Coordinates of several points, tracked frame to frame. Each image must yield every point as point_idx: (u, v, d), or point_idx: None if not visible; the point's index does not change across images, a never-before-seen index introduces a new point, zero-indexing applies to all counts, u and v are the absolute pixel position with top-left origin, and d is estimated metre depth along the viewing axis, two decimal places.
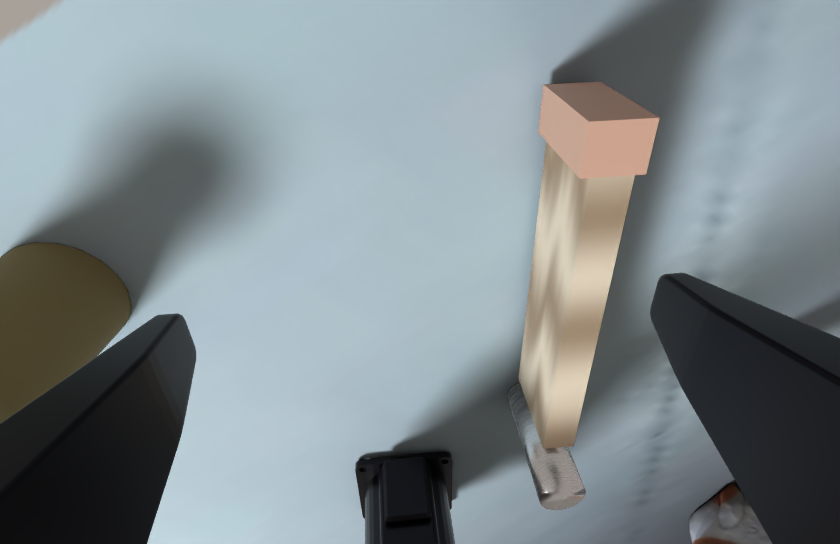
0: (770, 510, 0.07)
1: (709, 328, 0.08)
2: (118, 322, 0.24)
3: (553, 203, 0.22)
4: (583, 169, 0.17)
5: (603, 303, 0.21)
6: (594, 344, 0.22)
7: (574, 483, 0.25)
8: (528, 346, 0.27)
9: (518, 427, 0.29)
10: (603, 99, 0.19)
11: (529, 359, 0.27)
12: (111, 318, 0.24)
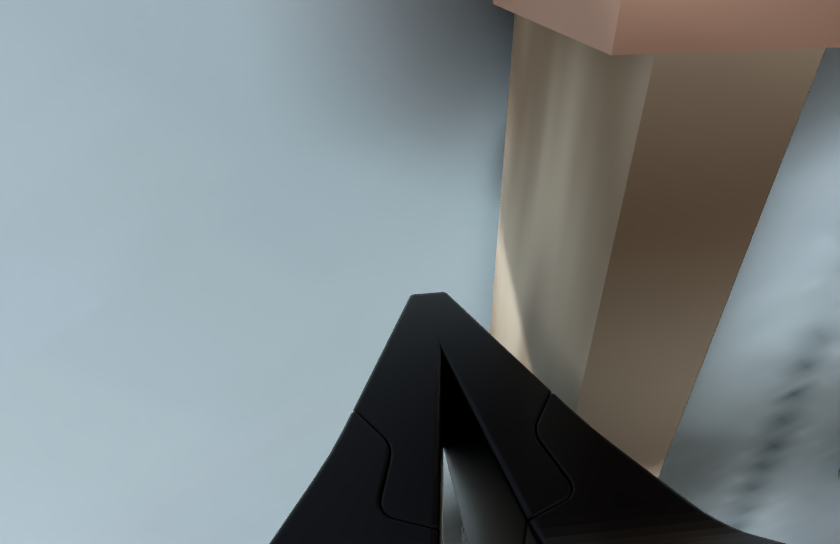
0: (471, 543, 0.07)
1: None
2: None
3: (528, 182, 0.09)
4: (627, 14, 0.04)
5: (661, 452, 0.08)
6: None
7: None
8: None
9: None
10: None
11: None
12: None
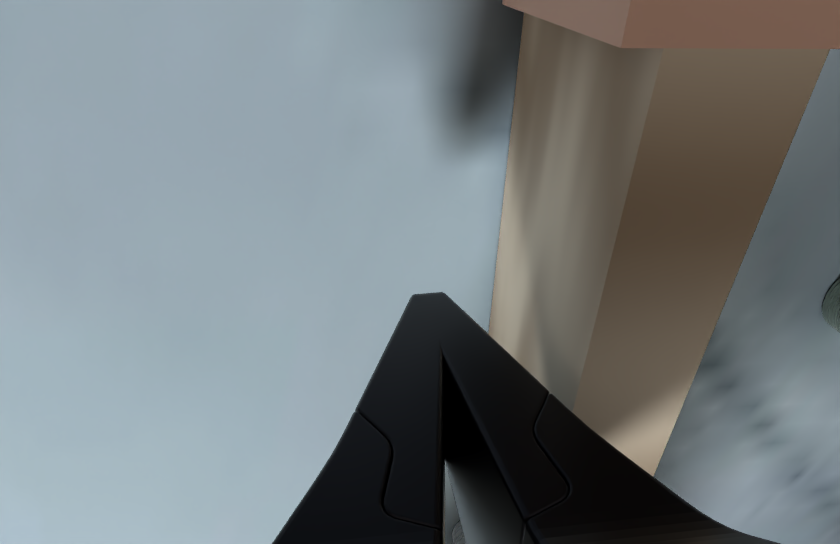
0: (469, 543, 0.07)
1: None
2: None
3: (532, 181, 0.09)
4: (638, 8, 0.04)
5: (657, 451, 0.08)
6: None
7: None
8: None
9: None
10: None
11: None
12: None
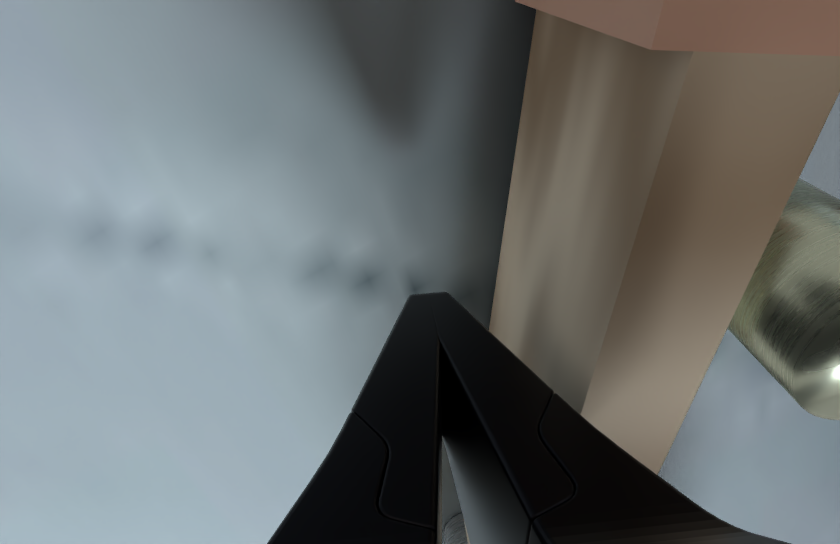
0: (473, 543, 0.07)
1: None
2: None
3: (541, 180, 0.09)
4: (670, 10, 0.04)
5: (661, 453, 0.08)
6: None
7: None
8: None
9: None
10: None
11: None
12: None
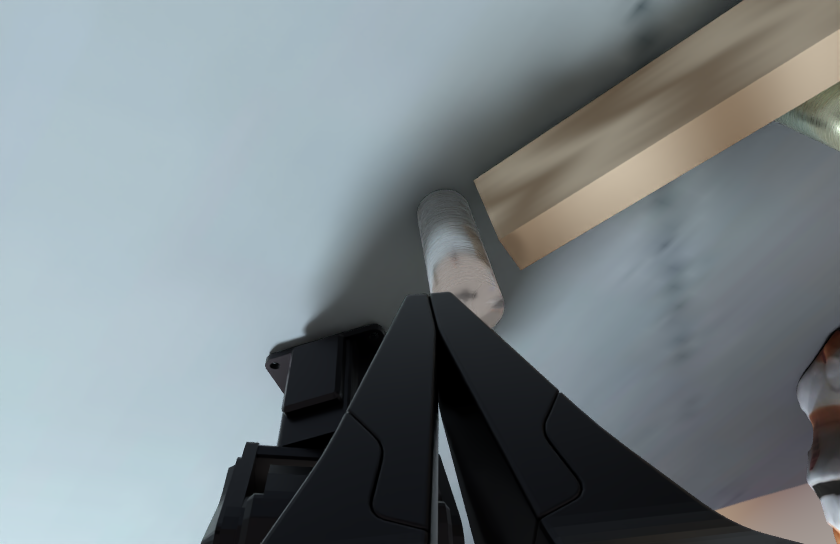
0: (478, 542, 0.07)
1: (440, 352, 0.08)
2: None
3: None
4: None
5: (781, 112, 0.15)
6: (710, 155, 0.16)
7: (474, 282, 0.16)
8: (552, 140, 0.20)
9: None
10: None
11: (542, 153, 0.19)
12: None
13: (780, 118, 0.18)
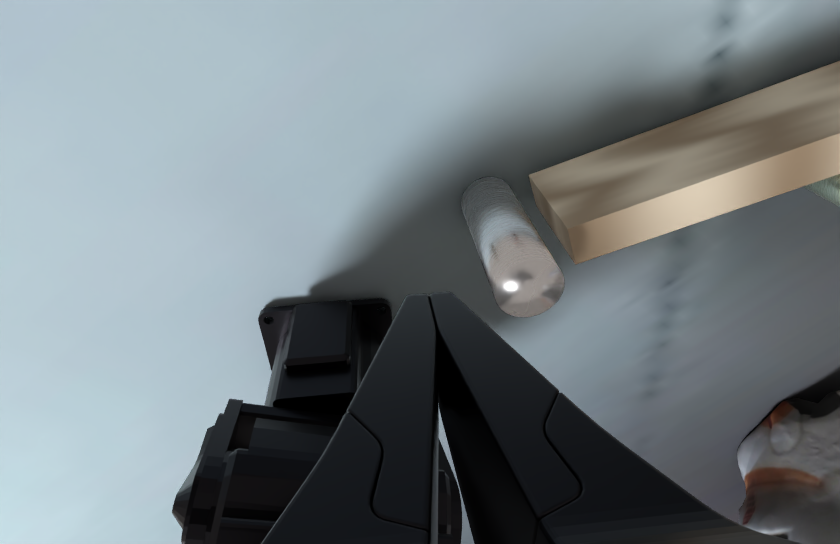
0: (478, 542, 0.07)
1: (440, 351, 0.08)
2: None
3: None
4: None
5: (836, 172, 0.17)
6: (770, 195, 0.18)
7: (545, 261, 0.16)
8: (616, 154, 0.21)
9: (471, 227, 0.20)
10: None
11: (606, 162, 0.20)
12: None
13: (813, 184, 0.20)
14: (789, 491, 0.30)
